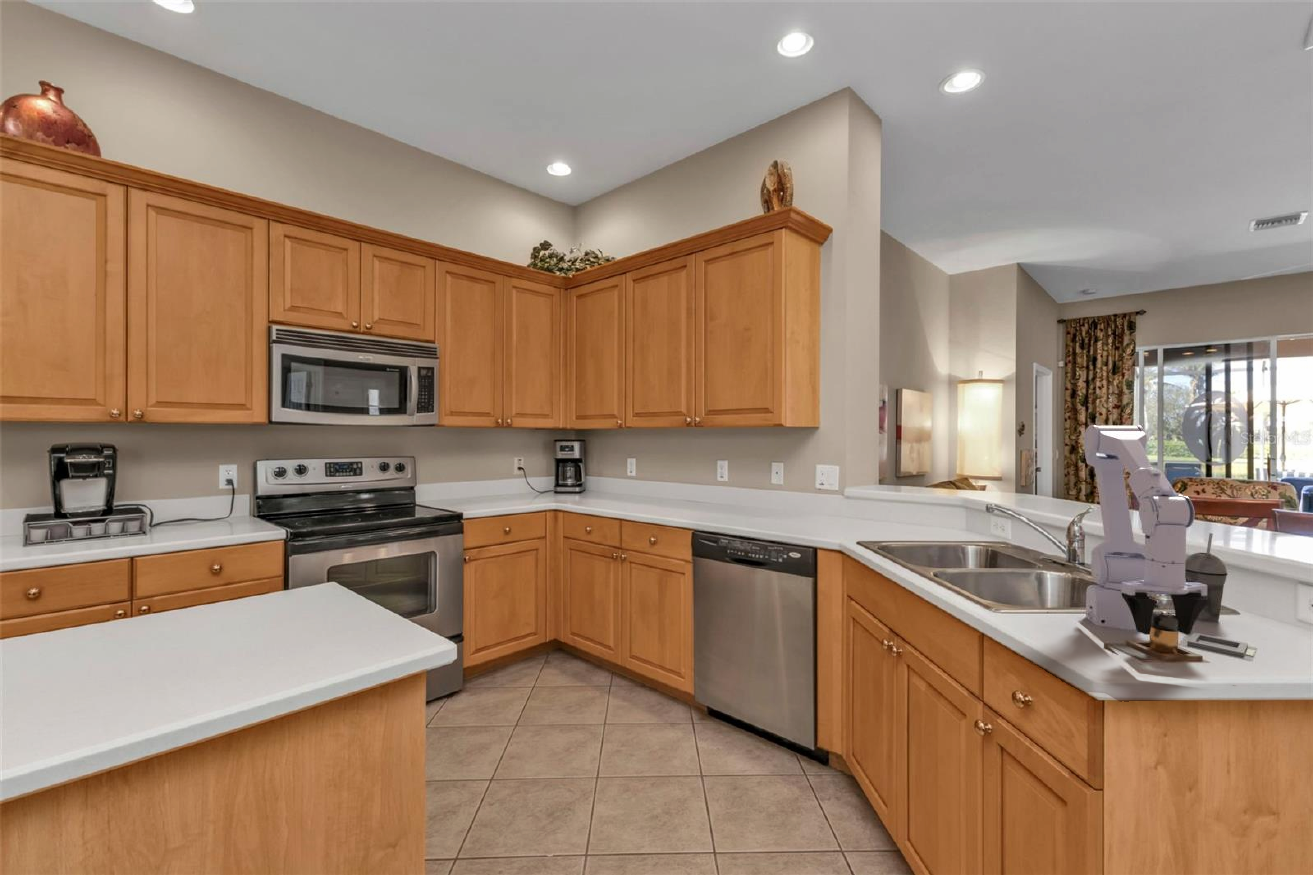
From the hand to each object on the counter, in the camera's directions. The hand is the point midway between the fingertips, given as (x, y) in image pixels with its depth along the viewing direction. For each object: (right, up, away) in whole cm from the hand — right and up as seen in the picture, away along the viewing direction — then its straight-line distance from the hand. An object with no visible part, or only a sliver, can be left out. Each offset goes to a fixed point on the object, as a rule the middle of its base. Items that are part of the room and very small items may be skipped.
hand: (1163, 632), depth 107 cm
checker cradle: (+13, -5, +3) cm, 15 cm away
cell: (0, -4, 0) cm, 4 cm away
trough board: (-2, -5, 0) cm, 5 cm away
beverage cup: (+27, -5, +20) cm, 33 cm away
